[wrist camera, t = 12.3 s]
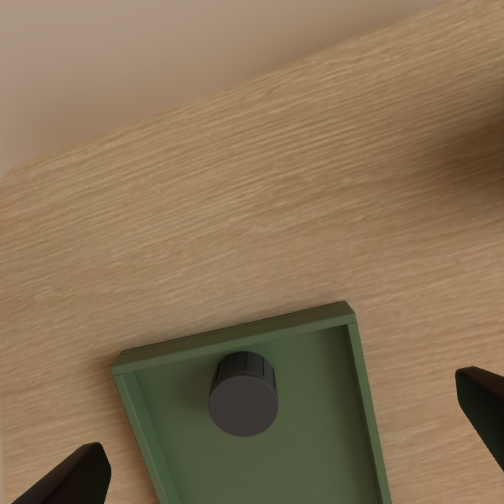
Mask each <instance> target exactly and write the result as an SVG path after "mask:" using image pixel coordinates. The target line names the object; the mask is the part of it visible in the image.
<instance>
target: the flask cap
mask: <svg viewBox="0 0 504 504" xmlns="http://www.w3.org/2000/svg"><path fill="white" fill-rule="evenodd" d="M208 409H209V414H210V416H211V419H212V420H213V422H214V423H215V425H216V426H217V427H218V428H219V429H221V430H222V431H224V432H225V433H227V434H230V435H233V436H237V437H250V436H255V435H258V434H260V433H262V432H264V431H265V430H266V429H268V428H269V427H270V426H271V425H272V423H273V422H274V420H275V418H276V416H277V413H278V394H277V385H276V378H275V372H274V368H273V367H272V365H271V364H270V363H269V362H268V361H267V360H266V359H265V358H264V357H263V356H261V355H259V354H257V353H254V352H250V351H239V352H235V353H232V354H230V355H228V356H227V357H225V358H224V359H223V360H222V361H221V362H220V363H218V366H217V368H216V371H215V374H214V376H213V380H212V384H211V388H210V393H209V402H208Z"/></svg>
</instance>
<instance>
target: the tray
mask: <svg viewBox="0 0 504 504" xmlns="http://www.w3.org/2000/svg"><path fill="white" fill-rule="evenodd" d="M356 321H357V320H356V315H355V312H354V311H353V310H352V309H351V307H350V306H349V305H348V303H347V302H346V301H344V302H339V303H335V304H330V305H326V306H321V307H317V308H313V309H308V310H304V311H299V312H295V313H290V314H286V315H281V316H277V317H273V318H268V319H264V320H259V321H255V322H250V323H246V324H241V325H237V326H233V327H228V328H224V329H219V330H215V331H210V332H206V333H201V334H197V335H193V336H188V337H184V338H179V339H175V340H170V341H166V342H161V343H157V344H153V345H148V346H144V347H139V348H135V349H130V350H126V351H122V352H121V354H120V355H119V356H118V358H117V359H116V360H115V361H114V362H113V364H112V365H111V366H110V371H111V374H112V375H113V379H114V382H115V384H116V387H117V390H118V392H119V395H120V398H121V400H122V403H123V406H124V408H125V411H126V414H127V417H128V419H129V422H130V425H131V427H132V430H133V433H134V435H135V438H136V441H137V443H138V446H139V449H140V451H141V454H142V457H143V460H144V462H145V465H146V468H147V470H148V473H149V476H150V478H151V481H152V484H153V486H154V489H155V492H156V494H157V497H158V500H159V503H160V504H392V501H391V496H390V491H389V486H388V481H387V475H386V470H385V465H384V460H383V455H382V449H381V444H380V439H379V434H378V429H377V423H376V418H375V413H374V408H373V403H372V397H371V392H370V387H369V382H368V377H367V371H366V366H365V361H364V356H363V351H362V345H361V340H360V335H359V330H358V325H357V322H356ZM239 351H250V352H254V353H257V354H259V355H261V356H263V357H264V358H265V359H266V360H267V361H268V362H269V363H270V364H271V365H272V367H273V368H274V372H275V378H276V385H277V394H278V413H277V416H276V418H275V420H274V422H273V423H272V425H271V426H270V427H269V428H268V429H266V430H265V431H264V432H262V433H260V434H258V435H255V436H250V437H237V436H233V435H230V434H227V433H225V432H224V431H222V430H221V429H219V428H218V427H217V426H216V425H215V423H214V422H213V420H212V419H211V416H210V414H209V409H208V402H209V393H210V388H211V384H212V380H213V376H214V374H215V371H216V368H217V366H218V363H220V362H221V361H222V360H223V359H224V358H225V357H227V356H228V355H230V354H232V353H235V352H239Z"/></svg>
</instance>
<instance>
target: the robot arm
mask: <svg viewBox="0 0 504 504" xmlns="http://www.w3.org/2000/svg"><path fill="white" fill-rule="evenodd" d="M455 379H456V388H457V397H458V402H459V404H460V407H461V409H462V410H463V412H464V413H465V415H466V416H467V418H468V419H469V421H470V422H471V424H472V425H473V427H474V428H475V430H476V431H477V433H478V434H479V436H480V437H481V439H482V440H483V442H484V443H485V445H486V446H487V448H488V449H489V451H490V452H491V454H492V455H493V457H494V458H495V460H496V461H497V463H498V464H499V466H500V467H501V469H502V470H503V471H504V377H503V376H500V375H497V374H495V373H492V372H489V371H486V370H484V369H481V368H478V367H475V366H470V367H465V368H461V369H458V370H456V372H455ZM110 479H111V466H110V464H109V461H108V459H107V456H106V454H105V451H104V449H103V446H102V445H101V444H100V443H99V442H94V443H89V444H84V445H82V446H81V447H79V448H78V449H77V450H76V451H74V452H73V453H72V454H71V455H70V456H68V457H67V458H66V459H65V460H64V461H62V462H61V463H60V464H59V465H57V466H56V467H55V468H54V469H53V470H51V471H50V472H49V473H48V474H47V475H45V476H44V477H43V478H42V479H41V480H39V481H38V482H37V483H36V484H34V485H33V486H32V487H31V488H30V489H28V490H27V491H26V492H25V493H24V494H22V495H21V496H20V497H19V498H17V499H16V500H15V501H14V502H13V503H11V504H104V502H105V498H106V494H107V491H108V487H109V483H110Z"/></svg>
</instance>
